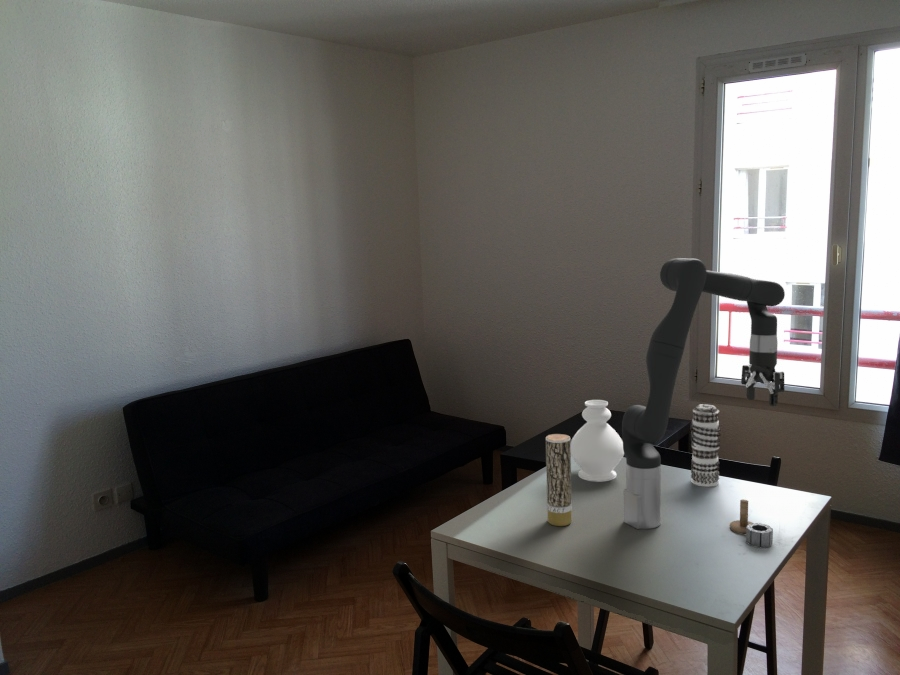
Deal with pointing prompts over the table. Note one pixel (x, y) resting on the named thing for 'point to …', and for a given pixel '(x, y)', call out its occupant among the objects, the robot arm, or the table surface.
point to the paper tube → (558, 479)
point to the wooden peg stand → (741, 519)
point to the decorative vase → (597, 444)
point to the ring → (759, 535)
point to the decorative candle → (705, 445)
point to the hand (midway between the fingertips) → (761, 402)
